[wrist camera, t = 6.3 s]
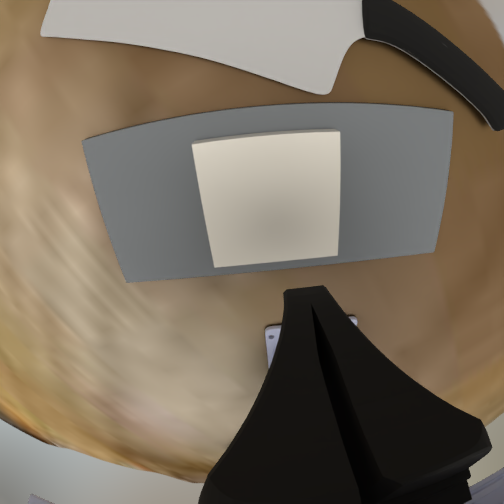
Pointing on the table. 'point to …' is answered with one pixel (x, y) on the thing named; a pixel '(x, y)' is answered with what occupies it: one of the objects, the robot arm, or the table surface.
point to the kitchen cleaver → (277, 38)
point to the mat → (259, 121)
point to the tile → (270, 195)
